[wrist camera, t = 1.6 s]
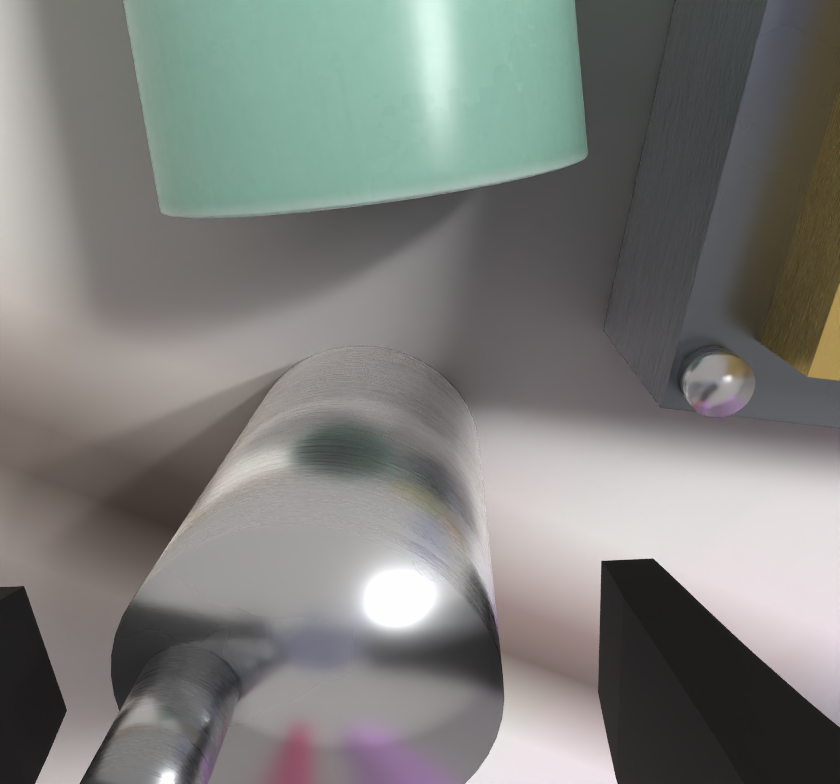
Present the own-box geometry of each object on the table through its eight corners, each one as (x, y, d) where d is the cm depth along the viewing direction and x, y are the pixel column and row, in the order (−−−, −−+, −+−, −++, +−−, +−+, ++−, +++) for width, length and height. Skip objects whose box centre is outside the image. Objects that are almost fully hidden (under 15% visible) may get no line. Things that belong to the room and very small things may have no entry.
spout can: (495, 360, 12) (561, 675, 5) (463, 561, 14) (480, 1006, 7) (254, 332, 12) (0, 613, 5) (250, 537, 14) (52, 958, 7)
